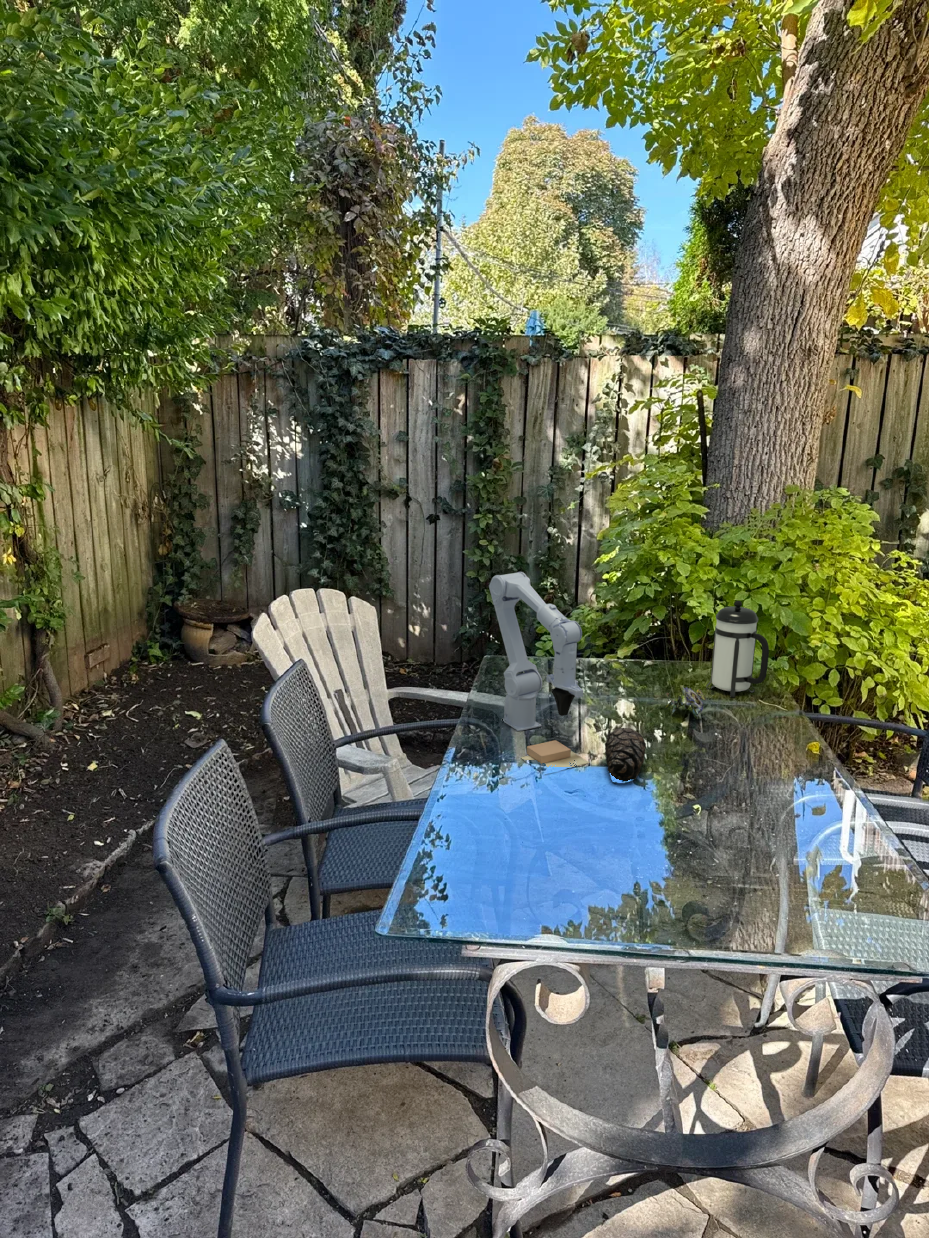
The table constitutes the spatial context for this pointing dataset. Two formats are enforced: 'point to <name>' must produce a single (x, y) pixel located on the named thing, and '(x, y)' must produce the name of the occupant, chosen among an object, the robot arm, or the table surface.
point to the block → (548, 751)
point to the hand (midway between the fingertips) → (563, 714)
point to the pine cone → (625, 753)
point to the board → (563, 761)
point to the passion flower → (688, 701)
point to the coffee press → (737, 650)
